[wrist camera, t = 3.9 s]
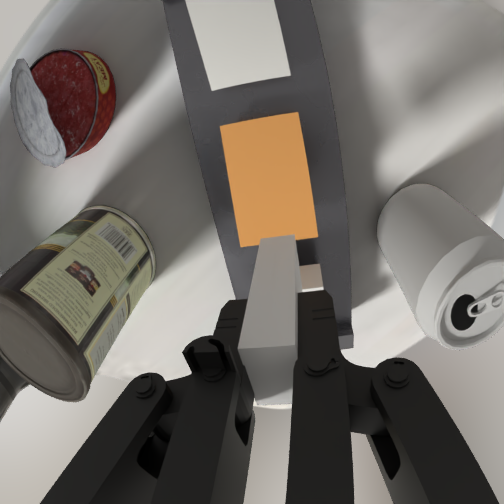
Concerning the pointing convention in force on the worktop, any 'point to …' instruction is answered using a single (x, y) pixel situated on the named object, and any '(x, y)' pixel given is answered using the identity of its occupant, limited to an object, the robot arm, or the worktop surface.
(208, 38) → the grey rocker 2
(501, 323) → the can
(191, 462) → the robot arm
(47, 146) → the canned food
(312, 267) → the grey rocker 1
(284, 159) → the orange rectangular block
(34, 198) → the worktop surface
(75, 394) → the coffee can
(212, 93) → the dark grey tray
